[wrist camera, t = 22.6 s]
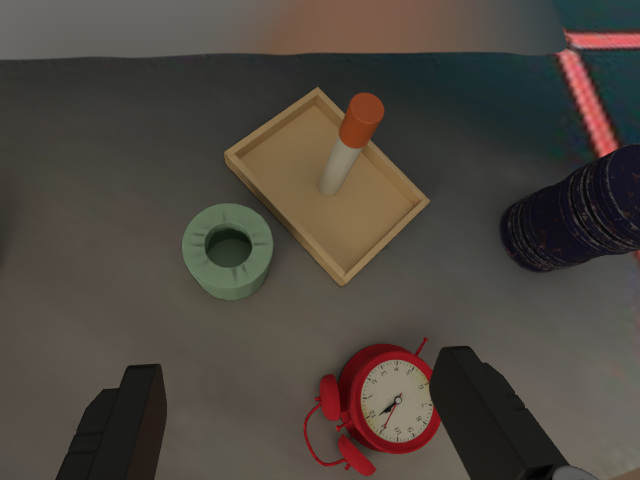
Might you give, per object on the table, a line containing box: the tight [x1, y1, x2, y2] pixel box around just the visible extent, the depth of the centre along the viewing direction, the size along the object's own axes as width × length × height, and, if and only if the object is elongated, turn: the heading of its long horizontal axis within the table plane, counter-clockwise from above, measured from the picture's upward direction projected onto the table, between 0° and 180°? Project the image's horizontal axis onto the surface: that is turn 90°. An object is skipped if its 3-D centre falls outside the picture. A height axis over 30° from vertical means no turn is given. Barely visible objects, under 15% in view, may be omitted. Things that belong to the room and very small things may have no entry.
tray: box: [224, 87, 430, 287], centre depth 43 cm, size 20×15×3 cm
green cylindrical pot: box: [182, 204, 274, 301], centre depth 35 cm, size 8×8×8 cm
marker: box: [318, 93, 384, 195], centre depth 36 cm, size 3×3×15 cm
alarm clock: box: [304, 337, 441, 476], centre depth 36 cm, size 10×6×15 cm
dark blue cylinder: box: [500, 144, 640, 273], centre depth 39 cm, size 10×10×18 cm
